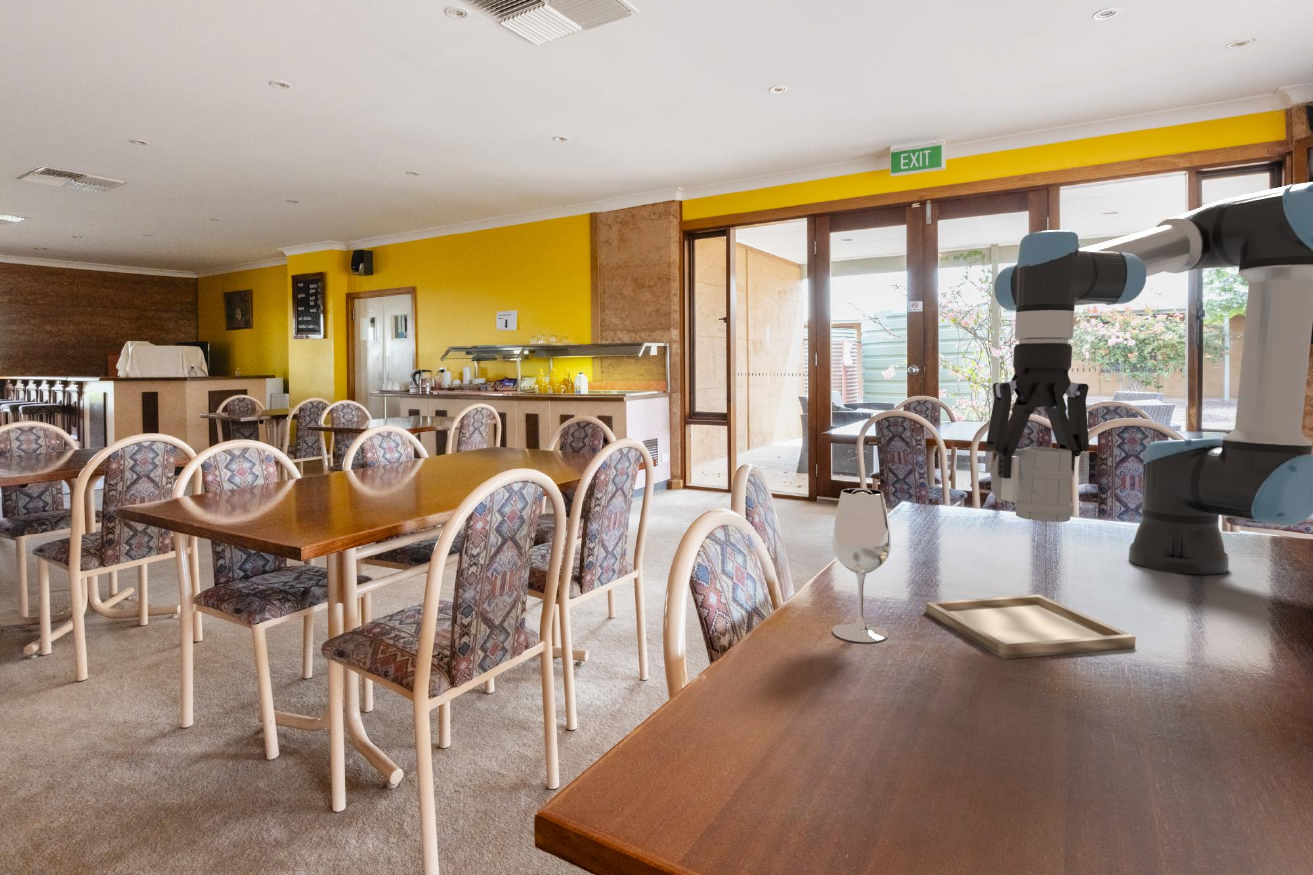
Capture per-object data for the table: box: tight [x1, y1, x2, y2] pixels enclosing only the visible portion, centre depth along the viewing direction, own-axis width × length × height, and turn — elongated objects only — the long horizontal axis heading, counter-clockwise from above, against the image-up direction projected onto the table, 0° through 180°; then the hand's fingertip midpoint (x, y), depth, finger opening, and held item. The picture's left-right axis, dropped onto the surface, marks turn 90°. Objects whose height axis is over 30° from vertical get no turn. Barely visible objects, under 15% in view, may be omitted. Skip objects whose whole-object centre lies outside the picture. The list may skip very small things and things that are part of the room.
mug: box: [990, 446, 1074, 523], centre depth 113 cm, size 8×12×12 cm, turn 39°
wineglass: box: [831, 487, 892, 644], centre depth 107 cm, size 8×8×20 cm
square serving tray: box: [925, 594, 1137, 660], centre depth 109 cm, size 19×19×2 cm
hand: (1034, 499), depth 113 cm, fingers closed on mug, 7 cm apart
